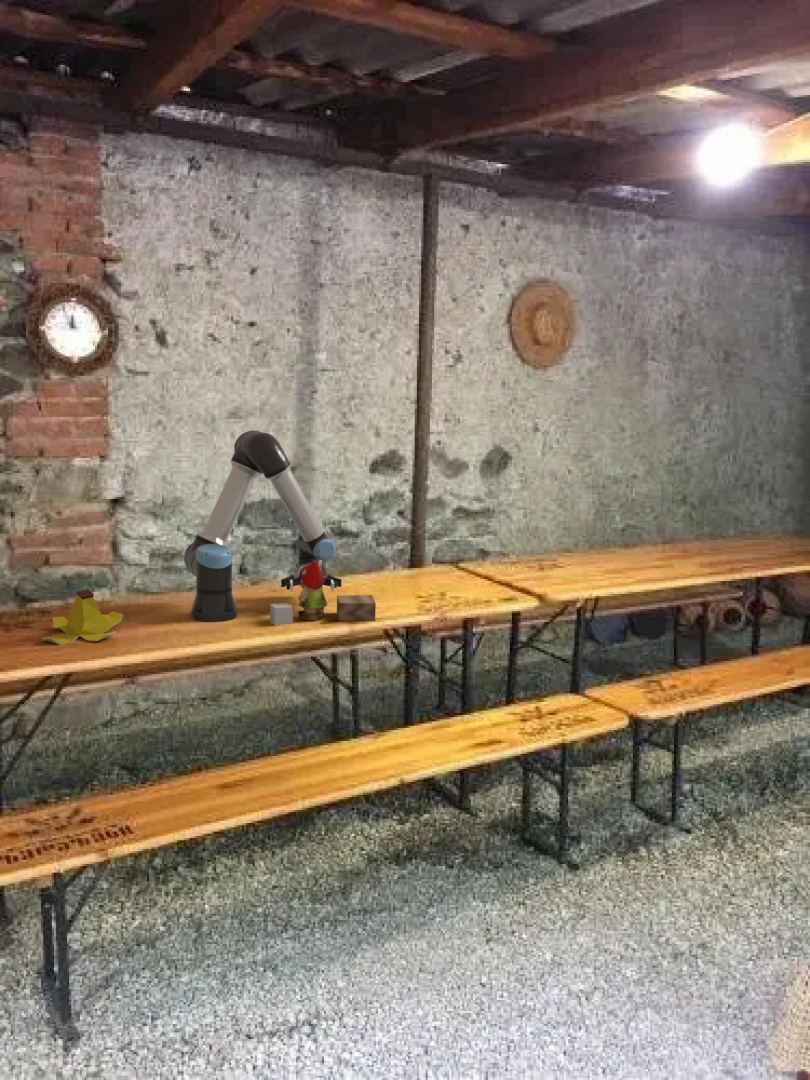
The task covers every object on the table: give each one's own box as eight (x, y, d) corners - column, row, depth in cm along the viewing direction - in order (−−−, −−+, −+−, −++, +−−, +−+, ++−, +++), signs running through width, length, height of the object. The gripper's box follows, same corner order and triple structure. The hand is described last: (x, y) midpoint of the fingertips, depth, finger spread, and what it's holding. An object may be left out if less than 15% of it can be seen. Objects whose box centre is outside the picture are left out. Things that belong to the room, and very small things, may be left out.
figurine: (308, 614, 332) (308, 556, 329) (331, 616, 329) (332, 558, 326) (294, 621, 322) (294, 561, 319) (317, 623, 319) (318, 563, 316)
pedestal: (339, 621, 323) (339, 603, 322) (336, 612, 335) (336, 595, 334) (375, 620, 325) (375, 603, 324) (371, 612, 337) (371, 595, 336)
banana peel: (139, 645, 297) (140, 599, 293) (48, 656, 282) (48, 608, 278) (115, 617, 317) (116, 573, 313) (29, 626, 302) (29, 580, 298)
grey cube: (274, 626, 315) (274, 608, 314) (269, 621, 320) (269, 604, 319) (292, 624, 317) (292, 606, 316) (287, 620, 323) (287, 602, 322)
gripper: (345, 585, 345) (350, 598, 324) (273, 585, 341) (274, 599, 321) (345, 564, 344) (350, 576, 323) (273, 564, 340) (274, 576, 319)
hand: (312, 587), depth 322 cm, fingers open, 13 cm apart
